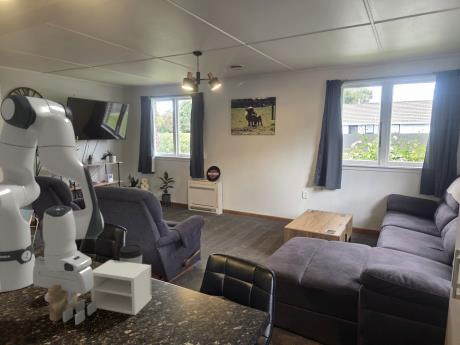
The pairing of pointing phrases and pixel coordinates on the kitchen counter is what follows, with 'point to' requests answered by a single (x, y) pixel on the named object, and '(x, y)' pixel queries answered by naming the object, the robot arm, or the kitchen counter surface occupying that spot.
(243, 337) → the kitchen counter surface
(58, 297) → the door
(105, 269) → the cabinet
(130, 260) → the coffee cup
